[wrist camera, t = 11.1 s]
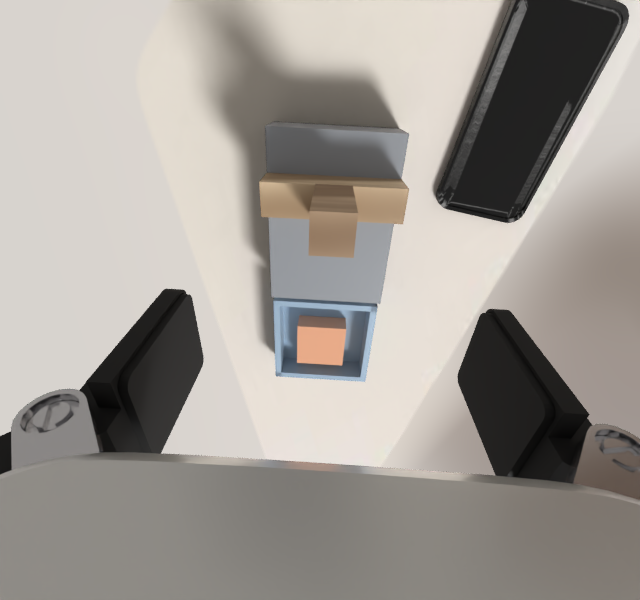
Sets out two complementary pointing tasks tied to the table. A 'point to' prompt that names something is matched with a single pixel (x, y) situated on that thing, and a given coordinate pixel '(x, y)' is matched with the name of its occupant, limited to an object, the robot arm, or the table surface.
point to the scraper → (333, 206)
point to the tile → (321, 340)
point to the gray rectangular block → (293, 234)
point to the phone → (528, 102)
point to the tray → (356, 338)
